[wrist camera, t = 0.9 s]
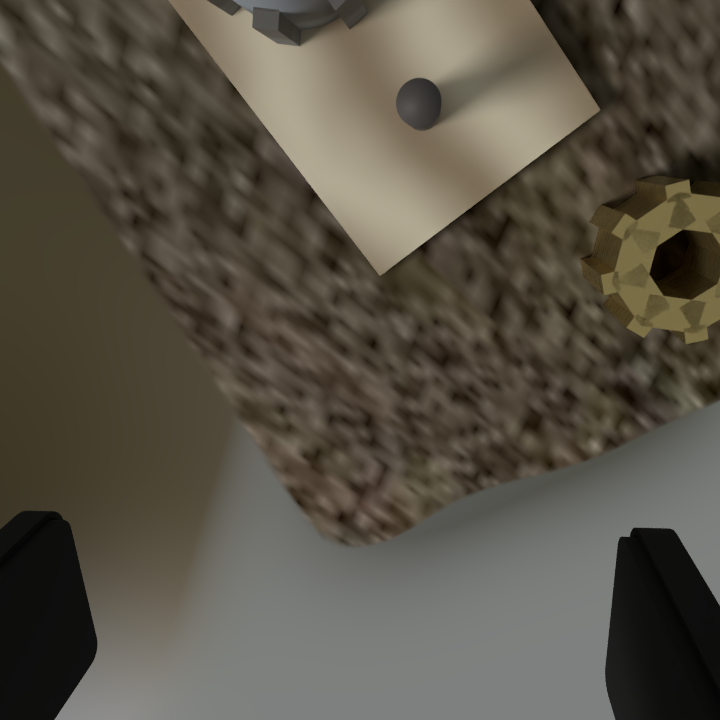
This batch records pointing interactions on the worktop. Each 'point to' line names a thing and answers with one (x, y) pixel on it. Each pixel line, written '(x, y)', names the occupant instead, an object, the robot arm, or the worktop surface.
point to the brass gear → (637, 249)
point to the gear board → (364, 117)
